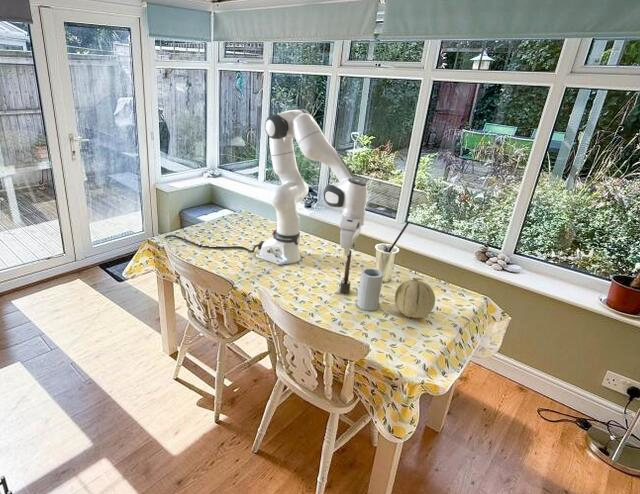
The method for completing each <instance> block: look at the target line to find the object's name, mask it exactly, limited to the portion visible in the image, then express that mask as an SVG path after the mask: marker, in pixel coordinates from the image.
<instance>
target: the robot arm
mask: <svg viewBox="0 0 640 494" xmlns="http://www.w3.org/2000/svg"><path fill="white" fill-rule="evenodd" d="M264 131H265V133H266V135H267V136H268V137H269V151H270V158H271V163H272V169H273V173H274V174H275V175H277V176H278V179H279V180H280V183H281V184H280V185H278V186H276V187H275V188H274V189H273V190H272V191H271V193H270V195H269V202H270V205H271V206H272V207H273V208H274V209H275V213H276V227H275V229H274V230H273V231H272V232H271V237H269V238H267V239H266V240H260V242H259V243H258V244H255V245H254V246H253V248H252V250H251V249H249V248H247V247H244V246H240V245H234V246H233V245H231V246H216V247H209V246H210V245H206V246H202V245H203V244H200V245H198V244H199V243H197V244H194V243H195V242H194V241H191V240H188V239H187V238H185V237H182V236H179V235H174V234H167V235H166V236H165V237H164V239H168V238H176V239H180V240H183V241H185V242H187V243H189V244H192V245H195V246H198V247H202V248H209V249H243V250H245V251H247V252H250V253H253V252H255V250H256V248H257V252H256V253H255V256H256V258H258V259H261V260H263V261H264V260H265V261H267V262H270V263H273V264H277V265H278V266H282V265H285V264H286V265H287V264H294V263H298V262H299V261H300V260H301V258H302V257H301V251H300V239H301V232H300V223H301V218H300V215H299V214H298V213H297V204H298V203H300V202H301V201H303V200H304V199H305V198H306V197H307V196H308V194H309V190H310V189H309V188H310V187H309V184H308V183H307V182H306V181H305V180H304V178H302V176H301V175H302V174H301V173H300V170H299V168H298V163H297V159H296V158H297V157H296V152H295V146H294V142H293V141H294V139H295V141H296V143H297V146H298V148H299V150H300V151H301V154H302V155H303V156H304V157H305V158H306V159H308V160H310V161H314V162H319V163H322V164H324V165H326V166H327V167H328V168H330V169H331V171H332V172H333V174H334V176H335V177H336V179H337V181H338V182H333V183H330V184H327V185H326V186H325V187H324V190H323V193H322V194H323V195H322V196H323V200H324V202H325V203H326V205H327V206H328V207H333V208H341V209H342V212H341V220H340V223H339V229H340V237H339V238H340V239H339V246H340V248H342V249H343V250H344V251H343V254H344V256H346V257H347V256H348V255H349V254H350V250H351V248H355V247H356V242H357V239H358V237H359V235H360V234H361V231H362V227H363V226H364V225H365V219H366V205H367V202H368V184H367V182H366V181H365V180H364V179H362V178H360V177H356V176H355V175H354V174H353V173H352V171H351V170H350V168H349V167H348V165H347V164H346V162H345V161H344V159H343V158H342V156H341V155H340V153H339V152H338V151H337V149H336V148H335V147H333V145H331V143H330V142H329V141H328V139H327V138H326V136H325V134H324V133H323V131H322V129H321V127H320V126H319V124H318V123H317V121H316V119H314V117H313V116H312V114H311V113H310V111H308V110H307V109H304V108H297V109H289V110H285V111H283V112H278V113H274V114H271V115H269V116H268V117H267V118H266V120H265V123H264ZM183 238H184V239H183Z"/></svg>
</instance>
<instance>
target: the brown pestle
mask: <svg viewBox="0 0 640 494" xmlns="http://www.w3.org/2000/svg"><path fill="white" fill-rule="evenodd" d="M351 259H352V250H351V249H350V254H349V255H348V256H347V255H346V258H345V267H344V274H343V275H344V276H343V279H341V280H340V285H339V286H340V287H339V293H340V294H342V295H349V294H350V291H351V281H350V279H349V277H350V276H349V275H350V268H351V261H352V260H351Z"/></svg>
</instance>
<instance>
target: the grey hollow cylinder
mask: <svg viewBox="0 0 640 494" xmlns="http://www.w3.org/2000/svg"><path fill="white" fill-rule="evenodd" d="M382 278H383V273H382V272H381V271H380V270H378V269H376V268H374V267H364V268H363V269H361V272H360V278H359V287H358V293H357V302H356V305H357V307H358V308H360V309H362V310H363V311H369V312H372V311H376V310H378V309H379V303H380V296H381V291H382V284H383V282H382Z"/></svg>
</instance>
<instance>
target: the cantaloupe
mask: <svg viewBox="0 0 640 494" xmlns="http://www.w3.org/2000/svg"><path fill="white" fill-rule="evenodd" d="M394 302H395V306H396V308H397V310H398V311H399V312H400V313H401V314H402V315H403V316H404V317H407V318H411V319H412V318H413V319H421V318H425V317H427V316H429V315H430V314H431V313H432V311H433V310H434V307H435V303H436V295H435V292H434V290H433V288H432V287H431V286H430V285H429V284H428V283H426V282H424V281H422V280H419V279H417V278H416V277H413V278H412V279H411V280H406V281H403V282H402V283H401V284H399V286H398V287H397V288H396V290H395V294H394Z"/></svg>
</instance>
